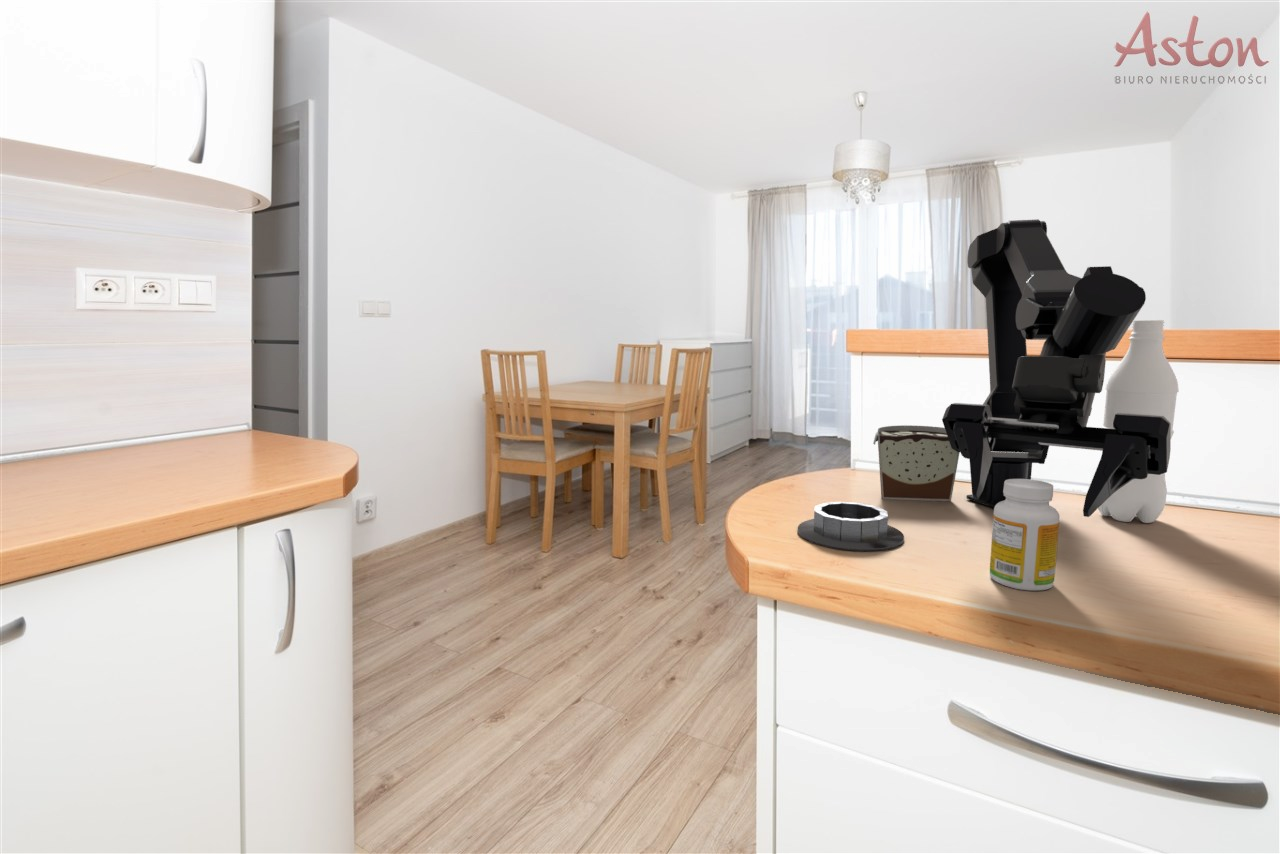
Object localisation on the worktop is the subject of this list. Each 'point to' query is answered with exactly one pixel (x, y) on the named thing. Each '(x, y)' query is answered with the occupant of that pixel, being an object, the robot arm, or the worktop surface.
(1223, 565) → the worktop surface
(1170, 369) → the water bottle
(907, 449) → the food container
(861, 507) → the ring collar
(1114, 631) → the worktop surface
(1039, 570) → the supplement bottle
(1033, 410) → the robot arm
